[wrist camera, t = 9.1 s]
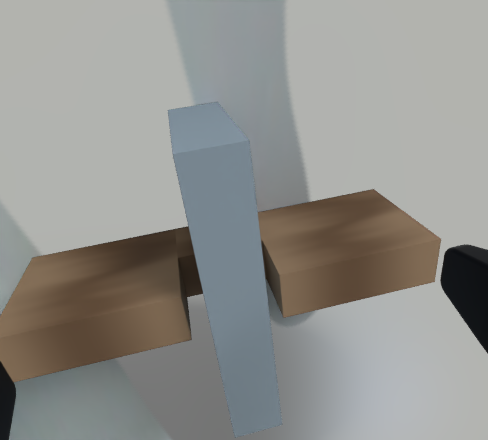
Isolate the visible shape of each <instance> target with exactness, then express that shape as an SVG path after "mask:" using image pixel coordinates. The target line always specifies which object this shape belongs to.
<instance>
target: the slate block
mask: <svg viewBox="0 0 488 440" xmlns="http://www.w3.org/2000/svg"><path fill="white" fill-rule="evenodd" d="M168 116H169V125H170V134H171V143H172V152H173V157H174V162H175V167H176V171H177V176H178V180H179V185H180V189H181V194H182V199H183V203H184V208H185V212H186V217H187V221H188V226H189V231H190V235H191V240H192V244H193V249H194V253H195V258H196V263H197V267H198V272H199V276H200V281H201V285H202V290H203V294H204V299H205V303H206V308H207V312H208V317H209V322H210V326H211V331H212V336H213V340H214V345H215V349H216V353H217V358H218V363H219V368H220V372H221V377H222V381H223V385H224V390H225V395H226V399H227V404H228V408H229V413H230V418H231V422H232V427H233V431H234V436H235V438H236V437H239V436H243V435H246V434H250V433H254V432H257V431H261V430H265V429H268V428H272V427H276V426H279V425H282V418H281V409H280V401H279V392H278V385H277V375H276V366H275V358H274V349H273V341H272V333H271V323H270V315H269V306H268V297H267V289H266V280H265V272H264V263H263V254H262V246H261V237H260V229H259V220H258V211H257V203H256V194H255V186H254V177H253V168H252V160H251V151H250V143H249V139H248V138H247V137H246V136H245V135H244V133H243V132H242V131H241V130H240V129H239V127H238V126H237V125H236V124H235V122H234V121H233V120H232V119H231V118H230V116H229V115H228V114H227V113H226V112H225V110H224V109H223V108H222V107H221V105H220V104H219V103H218V102H214V103H208V104H202V105H196V106H190V107H184V108H178V109H171V110H168Z"/></svg>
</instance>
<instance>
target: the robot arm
mask: <svg viewBox="0 0 488 440" xmlns="http://www.w3.org/2000/svg"><path fill="white" fill-rule="evenodd" d="M441 286H442V288H443V290H444V292H445V294H446V295H447V296H448V298H449V299H450V301H451V302H452V304H453V305H454V306H455V308H456V309H457V311H458V312H459V314H460V315H461V317H462V318H463V319H464V321H465V322H466V323H467V325H468V327H469V328H470V329H471V331H472V332H473V334H474V335H475V337H476V338H477V340H478V341H479V342H480V344H481V345H482V346H483V348H484V349H485V350H486V352H487V353H488V250H486V249H482V248H479V247H475V246H471V245H460V246H456V247H452V248H449V249H448V250H447V251H446V252H445V255H444V261H443V267H442V273H441ZM15 399H16V388H15V385H14V382H13V381H12V379H11V377H10V376H9V374H8V372H7V371H6V369H5V367H4V366H3V364H2V363H1V361H0V440H9V435H10V429H11V423H12V417H13V411H14V405H15Z"/></svg>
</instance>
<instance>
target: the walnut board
mask: <svg viewBox="0 0 488 440" xmlns="http://www.w3.org/2000/svg"><path fill="white" fill-rule="evenodd" d="M258 220H259V229H260V237H261V246H262V254H263V263H264V272H265V280H266V279H267V281H268V283H269V286H270V288H271V290H272V292H273V295H274V297H275V299H276V302H277V304H278V306H279V308H280V311H281V313H282V315H283V318H285V317H289V316H293V315H298V314H302V313H306V312H310V311H314V310H319V309H323V308H327V307H331V306H335V305H339V304H344V303H348V302H352V301H356V300H360V299H365V298H369V297H373V296H377V295H381V294H385V293H389V292H394V291H398V290H402V289H407V288H411V287H415V286H419V285H423V284H428V283H431V282H435V275H436V269H437V262H438V256H439V249H440V243H441V239H440V238H439V237H437V236H436V235H435V234H434V233H432V232H431V231H429V230H428V229H427V228H425V227H424V226H423V225H421V224H420V223H419V222H417V221H416V220H415V219H413V218H412V217H411V216H409V215H408V214H406V213H405V212H404V211H402V210H401V209H399V208H398V207H397V206H396V205H394V204H393V203H392V202H390V201H389V200H387V199H386V198H385V197H383V196H382V195H380V194H379V193H378V192H377V191H375V190H374V189H373V190H367V191H362V192H357V193H353V194H347V195H342V196H337V197H333V198H328V199H323V200H318V201H312V202H307V203H302V204H297V205H292V206H287V207H283V208H278V209H273V210H268V211H263V212H258ZM199 294H203V290H202V285H201V281H200V276H199V272H198V267H197V263H196V258H195V253H194V249H193V244H192V240H191V235H190V231H189V226H188V227H183V228H178V229H173V230H168V231H163V232H158V233H153V234H149V235H143V236H139V237H133V238H128V239H123V240H119V241H113V242H108V243H103V244H98V245H93V246H88V247H84V248H79V249H74V250H69V251H64V252H58V253H53V254H49V255H43V256H38V257H33V258H32V260H31V262H30V264H29V265H28V267H27V269H26V271H25V273H24V274H23V276H22V278H21V280H20V282H19V283H18V285H17V287H16V289H15V291H14V292H13V294H12V296H11V298H10V300H9V301H8V303H7V305H6V307H5V309H4V310H3V312H2V314H1V316H0V361H1V363H2V364H3V366H4V367H5V369H6V371H7V372H8V374H9V376H10V377H11V379H12V381H13V382H17V381H21V380H25V379H29V378H34V377H38V376H42V375H46V374H50V373H54V372H59V371H63V370H67V369H71V368H75V367H80V366H84V365H88V364H92V363H96V362H101V361H105V360H109V359H113V358H117V357H122V356H125V355H130V354H134V353H138V352H142V351H146V350H151V349H155V348H159V347H163V346H168V345H172V344H176V343H180V342H184V341H189V340H191V329H190V320H189V310H188V301H187V297H190V296H194V295H199Z"/></svg>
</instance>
